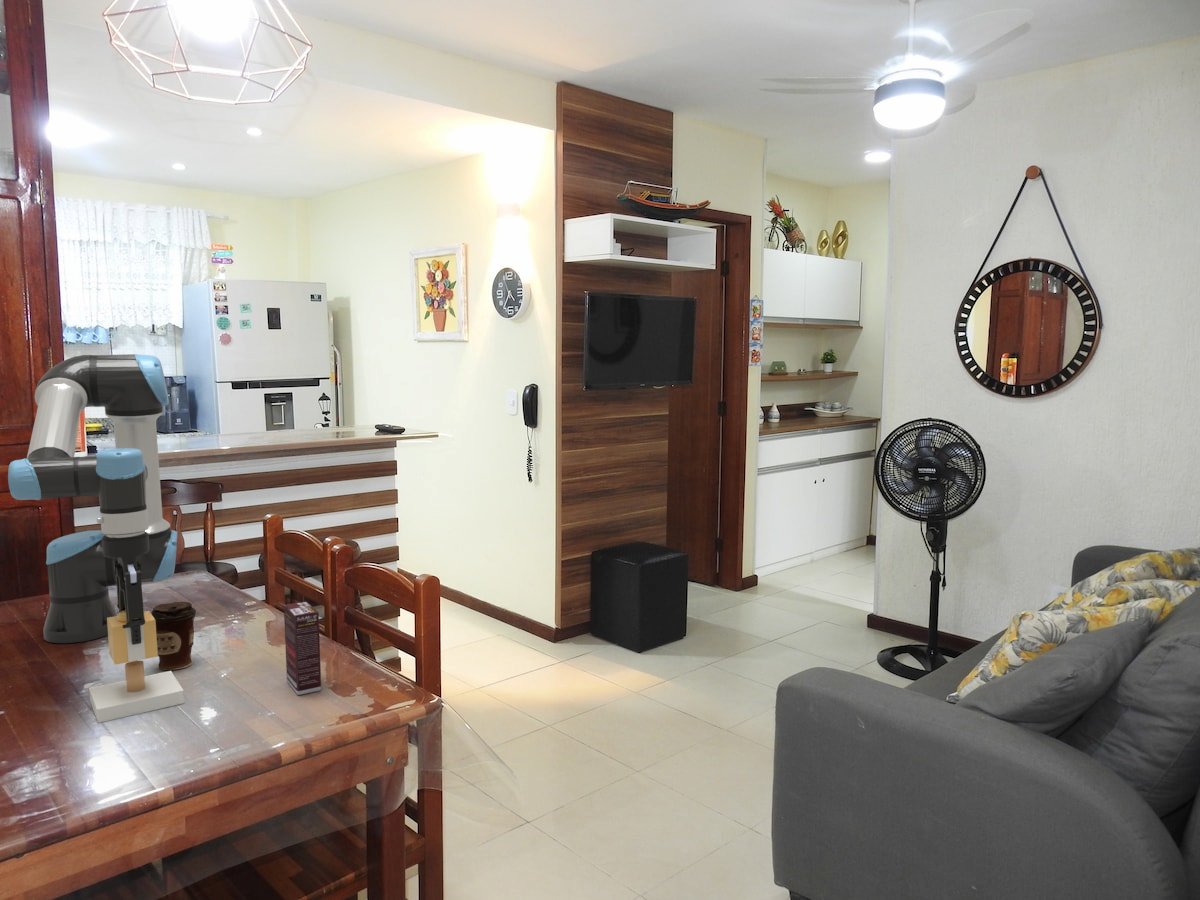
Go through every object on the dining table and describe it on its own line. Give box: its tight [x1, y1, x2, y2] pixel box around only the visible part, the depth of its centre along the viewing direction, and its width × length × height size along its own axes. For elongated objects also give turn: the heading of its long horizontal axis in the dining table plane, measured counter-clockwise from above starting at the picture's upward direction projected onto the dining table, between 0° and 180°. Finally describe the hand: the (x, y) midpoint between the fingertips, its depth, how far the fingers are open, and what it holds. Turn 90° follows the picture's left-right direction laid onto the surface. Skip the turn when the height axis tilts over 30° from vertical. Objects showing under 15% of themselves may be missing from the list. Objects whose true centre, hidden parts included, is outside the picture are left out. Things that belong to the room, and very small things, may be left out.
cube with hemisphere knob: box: [107, 610, 159, 666], centre depth 156 cm, size 7×7×8 cm
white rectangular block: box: [88, 660, 185, 724], centre depth 157 cm, size 12×14×8 cm
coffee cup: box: [150, 601, 197, 671], centre depth 175 cm, size 9×8×13 cm
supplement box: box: [283, 601, 322, 696], centre depth 164 cm, size 9×5×16 cm, turn 34°
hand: (133, 653), depth 156 cm, fingers closed on cube with hemisphere knob, 7 cm apart
